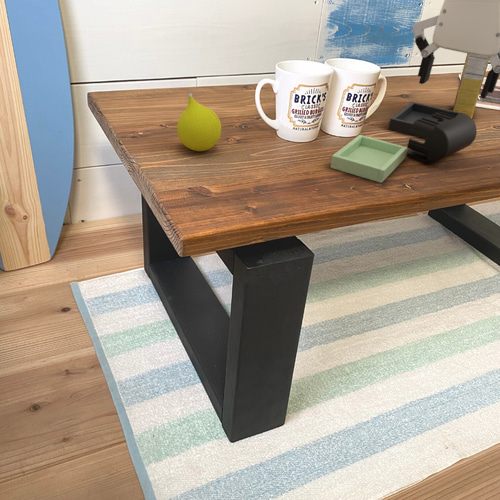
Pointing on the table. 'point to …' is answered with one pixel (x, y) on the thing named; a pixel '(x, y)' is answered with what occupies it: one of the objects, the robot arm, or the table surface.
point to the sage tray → (369, 158)
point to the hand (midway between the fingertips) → (453, 88)
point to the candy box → (470, 84)
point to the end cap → (441, 137)
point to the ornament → (198, 126)
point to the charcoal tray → (415, 117)
